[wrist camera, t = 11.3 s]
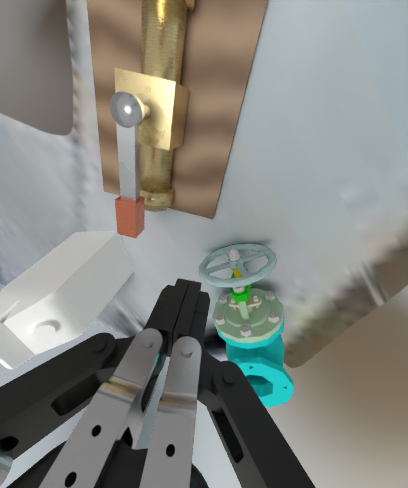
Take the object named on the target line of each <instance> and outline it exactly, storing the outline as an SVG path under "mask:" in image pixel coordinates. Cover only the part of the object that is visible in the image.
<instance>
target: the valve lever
mask: <svg viewBox="0 0 408 488" xmlns="http://www.w3.org/2000/svg"><path fill="white" fill-rule="evenodd" d="M110 111H111V114H112V117H113V118H114V120H115V121H116V128H117V145H118V162H119V179H120V195H121V196H120V197H118V198H117V199H115V206H116V219H117V232H118V234H120V235H125V236H129V237H133V238H136V237H137V236H138V235H139V234H140V233H141V232H142V231H143V230H144V202H145V197H142V196H140V125H141V124H142V122H143V120H144V116H145V112H144V107H143V104H142V102H141V101H140V99H139V98H138V97H137V96H135V95H133V94H131V93H127V92H122V91H121V92H117V93H115V94H114V95H113V96H112V98H111V101H110Z"/></svg>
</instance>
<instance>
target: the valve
mask: <svg viewBox="0 0 408 488" xmlns="http://www.w3.org/2000/svg"><path fill="white" fill-rule="evenodd" d="M238 250H252V251H258V253H255V254H252V255H249V256H246V257H243V258H242V257H241V256H240V255H239V252H238ZM225 253H226V254H227V256H228V257H229V259H228V261H229V262H227V263H224V264H221V265H217V266H214V267H211V268H208V269H206V267H207V265H208V264H209V263H210V262H211V261H213V260H214V259H215V258H216V257H218V256H220V255H223V254H225ZM265 255H266V256H267V258H268V262H267V264H266V265H265V266H264V267H263V268H261V269H260V270H259V271H257V272H255V273H252V274H250V273H249V272H248V271H247V269H245V268H244V262H247V261H250V260H253V259H256V258H259V257H262V256H265ZM276 261H277V258H276V255H275V253H274V252H273V251H272V250H271V249H269V248H268V247H266V246H262V245H257V244H235V245H231V246H228V247H224V248H221V249H219V250H217V251H215V252H214V253H212V254H210V255H209V256H207V257H206V258H205V259H204V260H203V262H202V263H201V265H200V266H199V275H200V277H201V278H202V279H203V280H204V281H205V282H206V283H207V284H210V285H214V286H217V287H231V293H229V294H226V295H221V296H220V297H219V302H217V303H216V306H215V309H214V313H213V317H212V318H213V321H214V324H215V327H216V328H217V331H218V334H219V336H220V337H221V338H223V339H224V340H225V341H226V349H227V358H228V361H231V362H234V363H235V364H237V365H238V366H239V367H240V369H241V370H242V372H243V373H244V375H245V376H246V378H247V379H248V381H249V383H250V384H251V386H252V387H253V389H254V391H255V392H256V394H257V395H258V397H259V399H260V400H261V402H262V403H263V405H264V407H272V406H276V405H279V404H283V403H285V402H286V401H287V400H288V399H289V398H290V397H291V396H292V393H293V381H292V380H291V378H290V377H289V375H288V374H287V372H286V371H285V369H284V368H283V359H284V344H283V341H282V338H281V335H280V334H281V333H282V332H283V327H284V313H283V305H282V304H281V303H280V302H279V301H278V299H277V298H276V297H275V295H274V292H272V291H268V292H267V291H264V290H261V289H258V288H251V284H252V283H254V282H257V281H259V280H261V279H264V278H265V277H266V276H267V275H268V274H269V273H270V272H271V271H272V270H273V269H274V268H275V265H276ZM228 267H230V268H231V269H233V271H234V272H233V275H232V277H231V278H230V279H220V278H216V277H213V276H210V275H209V273H212V272H215V271H218V270H221V269H224V268H228Z"/></svg>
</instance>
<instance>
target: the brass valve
mask: <svg viewBox="0 0 408 488" xmlns="http://www.w3.org/2000/svg"><path fill="white" fill-rule="evenodd" d="M194 2H195V0H141V74H140V73H136V72H132V71H128V70H123V69H119V68H115V67H114V70H115V93H117V92H121V91H122V92H127V93H131V94H133V95H135V96H137V97H138V98H139V99H140V101H141V102H142V104H143V107H144V112H145V116H144V120H143V122H142V124H141V125H140V196H142V197H145V202H144V209H145V210H149V211H163V210H165V209H167V207H169V206H171V204H172V197H173V189H172V188H171V187H170V177H171V167H172V157H173V149H174V148H177V147H179V146H182V145H183V139H184V131H185V123H186V115H187V107H188V99H189V91H190V90H188V89H187V88H185V87H183V86H182V85H180V77H181V67H182V57H183V47H184V38H185V28H186V18H187V13H190V12H192V11H193V9H194Z"/></svg>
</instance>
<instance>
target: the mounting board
mask: <svg viewBox="0 0 408 488" xmlns="http://www.w3.org/2000/svg"><path fill="white" fill-rule="evenodd" d="M267 1H268V0H195V2H194V9H193V11H192V12H190V13H187V18H186V28H185V38H184V47H183V57H182V67H181V77H180V85H182V86H183V87H185V88H187V89H188V90H190V91H189V99H188V107H187V115H186V123H185V131H184V139H183V145H182V146H179V147H177V148H174V149H173V157H172V167H171V177H170V187H171V188H172V189H173V197H172V204H171V206H169V207H167V208H171V209H175V210H179V211H183V212H187V213H191V214H195V215H199V216H202V217H206V218H210V219H213V217H214V213H215V209H216V205H217V201H218V197H219V193H220V189H221V185H222V181H223V177H224V173H225V169H226V165H227V161H228V157H229V153H230V149H231V145H232V141H233V137H234V133H235V129H236V125H237V121H238V117H239V113H240V109H241V105H242V101H243V97H244V93H245V89H246V85H247V81H248V77H249V73H250V69H251V65H252V61H253V57H254V53H255V49H256V45H257V41H258V37H259V33H260V29H261V25H262V21H263V17H264V13H265V9H266V5H267ZM87 9H88V20H89V31H90V42H91V53H92V64H93V75H94V86H95V98H96V109H97V120H98V131H99V142H100V153H101V164H102V175H103V186H104V192H108V193H112V194H116V195H120V179H119V162H118V145H117V128H116V121H115V120H114V118H113V117H112V114H111V111H110V101H111V98H112V96H113V95H114V94H115V70H114V67H115V68H119V69H123V70H128V71H132V72H136V73H140V74H141V0H87ZM120 196H121V195H120Z"/></svg>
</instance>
